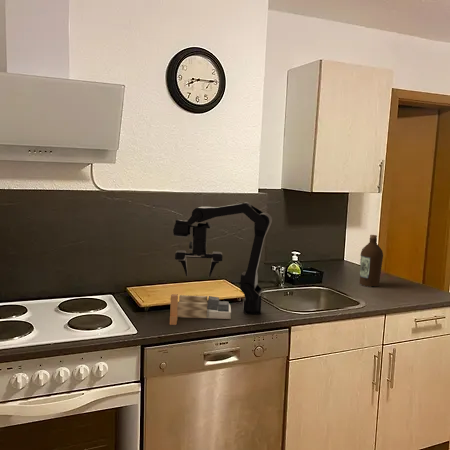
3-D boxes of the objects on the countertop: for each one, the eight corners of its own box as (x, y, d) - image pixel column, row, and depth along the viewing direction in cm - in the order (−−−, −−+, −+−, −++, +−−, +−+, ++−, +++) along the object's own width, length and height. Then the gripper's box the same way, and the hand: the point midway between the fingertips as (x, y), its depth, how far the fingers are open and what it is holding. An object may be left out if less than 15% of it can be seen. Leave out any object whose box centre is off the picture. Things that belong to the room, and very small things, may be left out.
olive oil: (370, 281, 245) (375, 233, 242) (384, 286, 235) (389, 236, 232) (353, 282, 241) (357, 233, 237) (367, 288, 231) (371, 237, 228)
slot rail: (206, 309, 190) (207, 296, 189) (206, 318, 180) (207, 303, 179) (179, 308, 189) (179, 295, 189) (177, 317, 179) (177, 302, 179)
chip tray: (229, 310, 190) (230, 304, 190) (230, 318, 180) (231, 312, 180) (207, 309, 190) (207, 303, 189) (206, 318, 180) (207, 311, 179)
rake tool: (177, 318, 178) (178, 292, 176) (176, 324, 171) (177, 297, 170) (170, 318, 177) (171, 292, 176) (169, 324, 171) (170, 297, 170)
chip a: (217, 311, 186) (228, 311, 187) (217, 314, 182) (228, 314, 183) (218, 301, 186) (228, 301, 186) (218, 304, 182) (228, 304, 182)
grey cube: (217, 307, 186) (218, 297, 186) (217, 310, 182) (219, 300, 182) (207, 305, 186) (208, 295, 186) (206, 309, 182) (208, 299, 182)
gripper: (222, 235, 199) (221, 272, 201) (177, 234, 198) (176, 270, 200) (223, 240, 188) (221, 279, 190) (175, 238, 187) (174, 277, 189)
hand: (198, 276), depth 193 cm, fingers open, 9 cm apart
